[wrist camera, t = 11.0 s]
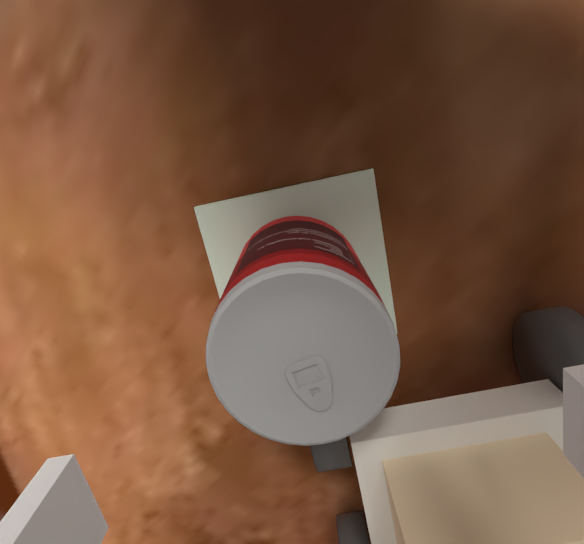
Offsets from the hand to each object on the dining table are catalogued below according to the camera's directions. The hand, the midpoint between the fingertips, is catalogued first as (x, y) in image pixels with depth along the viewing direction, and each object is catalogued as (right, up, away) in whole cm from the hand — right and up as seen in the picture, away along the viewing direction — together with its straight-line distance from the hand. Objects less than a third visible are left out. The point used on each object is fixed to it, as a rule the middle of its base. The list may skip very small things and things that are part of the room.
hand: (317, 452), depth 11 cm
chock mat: (0, +5, +16) cm, 16 cm away
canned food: (0, +5, +15) cm, 16 cm away
